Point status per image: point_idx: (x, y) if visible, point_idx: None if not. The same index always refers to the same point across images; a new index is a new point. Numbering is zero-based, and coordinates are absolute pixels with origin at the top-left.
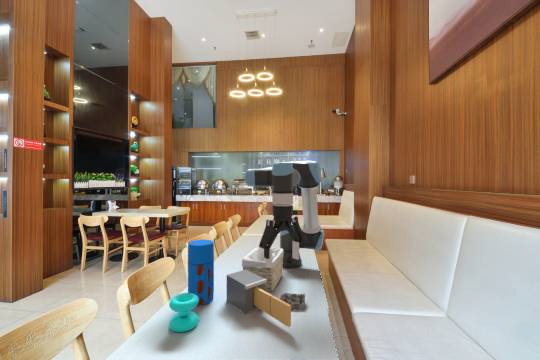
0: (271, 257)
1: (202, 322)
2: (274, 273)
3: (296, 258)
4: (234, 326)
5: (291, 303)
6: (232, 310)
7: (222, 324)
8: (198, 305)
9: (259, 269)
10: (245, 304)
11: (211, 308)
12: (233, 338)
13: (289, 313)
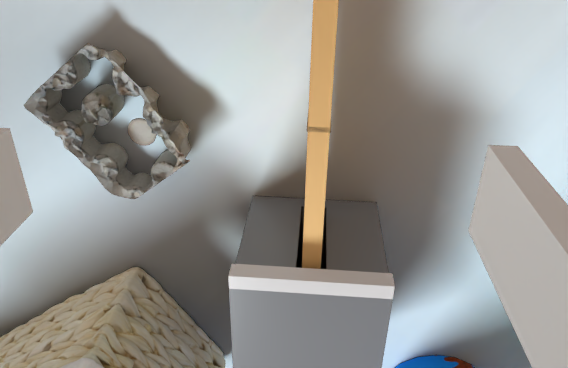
0: (557, 224)
1: None
2: (67, 339)
3: (8, 151)
4: (484, 159)
5: (149, 100)
6: (396, 258)
7: None
8: (472, 366)
9: None
10: (378, 228)
11: (449, 321)
12: (559, 90)
13: None
